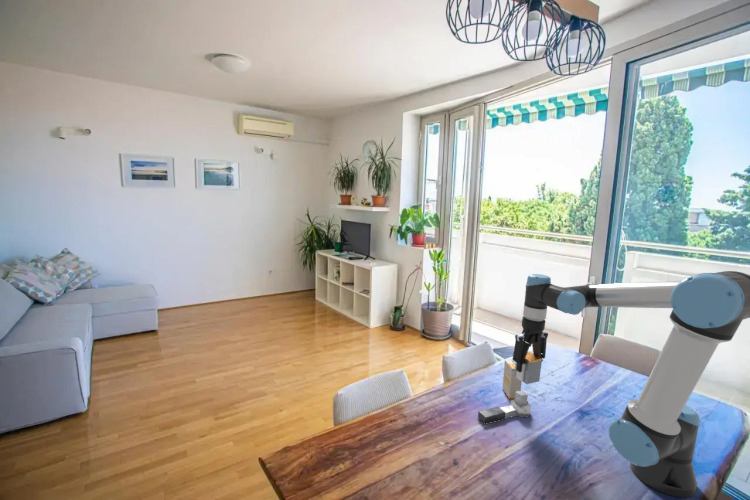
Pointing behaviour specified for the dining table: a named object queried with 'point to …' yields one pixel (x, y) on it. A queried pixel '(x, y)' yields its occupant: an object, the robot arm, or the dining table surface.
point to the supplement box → (510, 379)
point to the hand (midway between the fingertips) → (526, 377)
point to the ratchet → (507, 409)
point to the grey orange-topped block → (531, 368)
